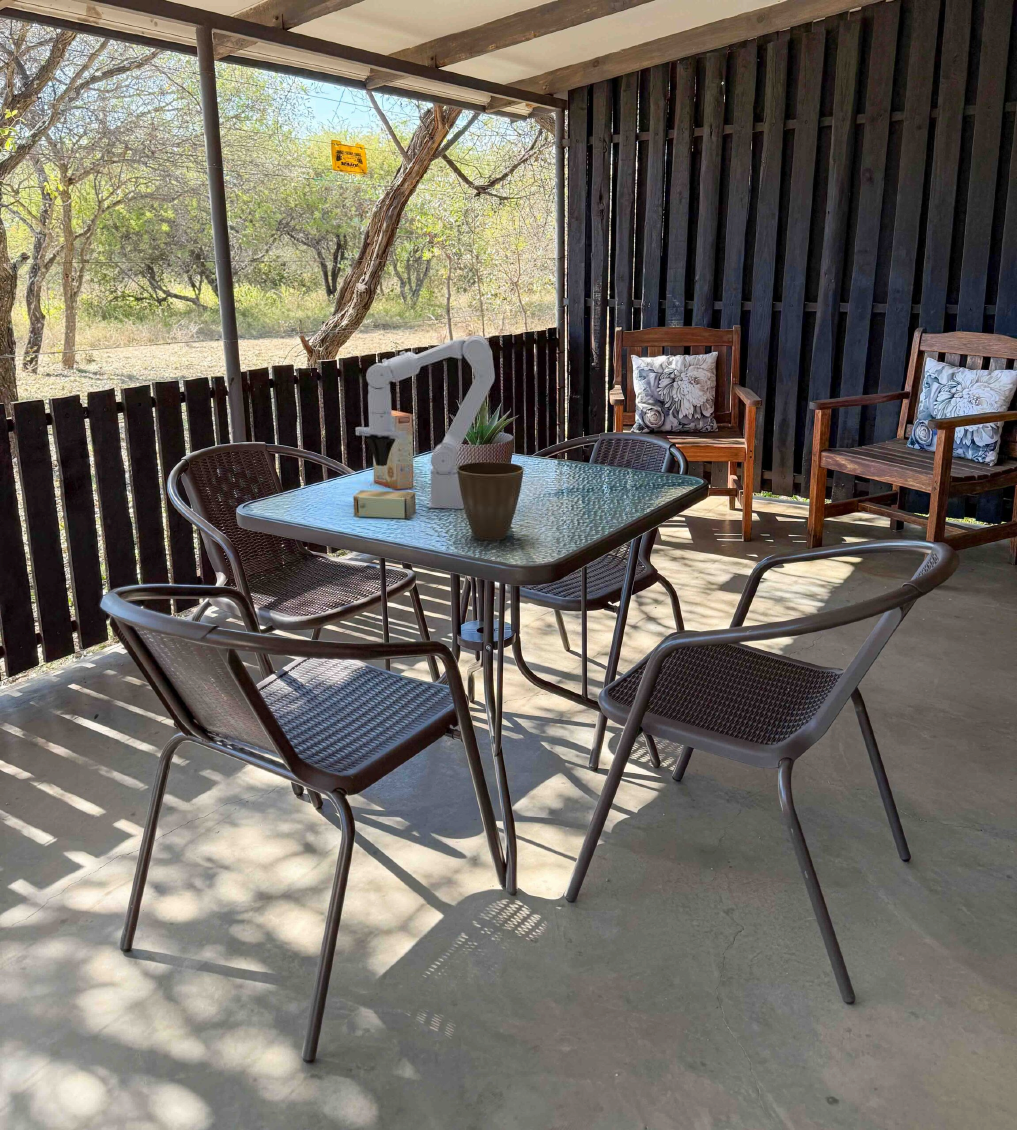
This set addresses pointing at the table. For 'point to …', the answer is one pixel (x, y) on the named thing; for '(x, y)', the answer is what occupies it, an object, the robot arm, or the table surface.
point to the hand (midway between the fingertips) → (381, 465)
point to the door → (384, 507)
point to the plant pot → (490, 497)
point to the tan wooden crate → (388, 495)
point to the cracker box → (398, 456)
